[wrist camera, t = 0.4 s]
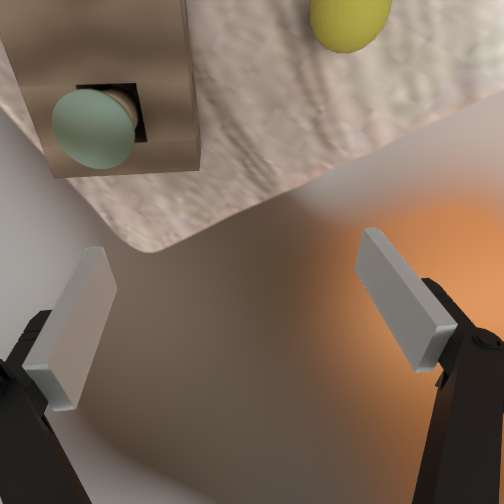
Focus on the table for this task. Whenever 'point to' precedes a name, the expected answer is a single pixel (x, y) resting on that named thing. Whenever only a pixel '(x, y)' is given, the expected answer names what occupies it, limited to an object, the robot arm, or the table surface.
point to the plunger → (97, 126)
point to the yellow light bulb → (348, 22)
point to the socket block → (108, 73)
